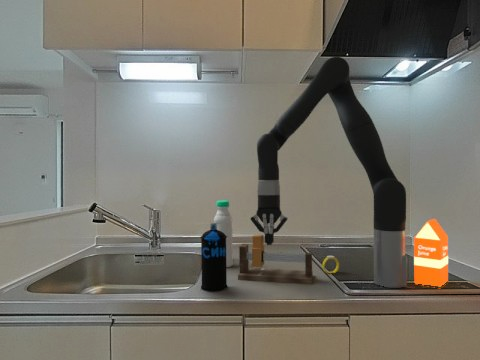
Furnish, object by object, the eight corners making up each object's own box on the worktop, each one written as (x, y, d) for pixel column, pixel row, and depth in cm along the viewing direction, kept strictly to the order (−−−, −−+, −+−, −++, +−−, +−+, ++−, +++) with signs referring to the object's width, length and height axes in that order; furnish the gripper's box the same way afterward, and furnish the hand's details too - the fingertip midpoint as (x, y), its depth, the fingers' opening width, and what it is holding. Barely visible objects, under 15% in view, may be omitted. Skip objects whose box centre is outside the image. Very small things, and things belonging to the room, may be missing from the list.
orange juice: (413, 283, 118) (413, 220, 117) (422, 277, 124) (422, 217, 124) (441, 288, 112) (440, 222, 112) (448, 282, 119) (448, 219, 119)
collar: (264, 263, 130) (264, 234, 130) (261, 267, 124) (260, 236, 124) (255, 262, 131) (255, 233, 131) (252, 267, 125) (251, 236, 125)
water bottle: (212, 264, 145) (211, 200, 145) (229, 262, 148) (228, 199, 147) (217, 268, 139) (216, 201, 138) (235, 267, 141) (234, 200, 141)
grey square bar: (306, 261, 125) (305, 253, 125) (305, 263, 122) (305, 254, 122) (247, 258, 130) (247, 250, 130) (246, 260, 127) (245, 252, 127)
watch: (325, 275, 129) (324, 258, 129) (321, 273, 132) (320, 256, 132) (340, 272, 131) (339, 256, 131) (336, 270, 134) (335, 254, 134)
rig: (312, 275, 128) (312, 245, 128) (311, 283, 118) (310, 250, 118) (244, 271, 134) (244, 242, 134) (237, 279, 124) (237, 248, 124)
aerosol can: (201, 283, 120) (200, 221, 119) (227, 283, 120) (226, 221, 120) (200, 291, 111) (199, 225, 111) (227, 291, 112) (227, 224, 112)
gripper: (289, 193, 128) (290, 243, 129) (252, 192, 132) (252, 241, 132) (287, 194, 121) (287, 247, 121) (247, 194, 124) (247, 245, 125)
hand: (269, 244), depth 127 cm, fingers closed
